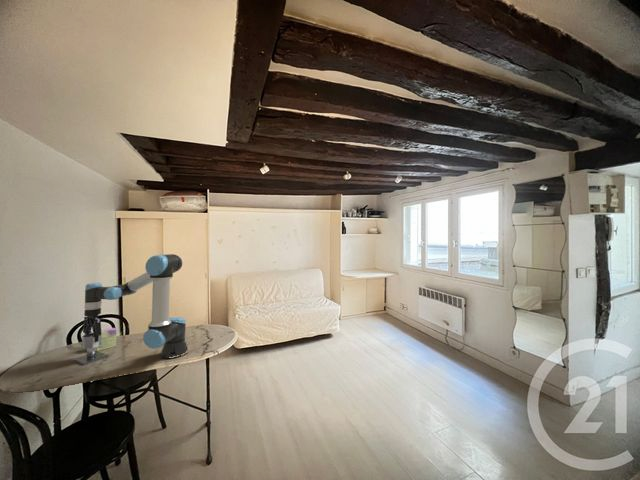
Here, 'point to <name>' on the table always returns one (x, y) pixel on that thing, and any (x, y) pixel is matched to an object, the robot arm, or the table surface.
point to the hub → (89, 341)
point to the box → (107, 339)
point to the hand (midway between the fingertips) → (91, 345)
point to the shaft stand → (90, 357)
